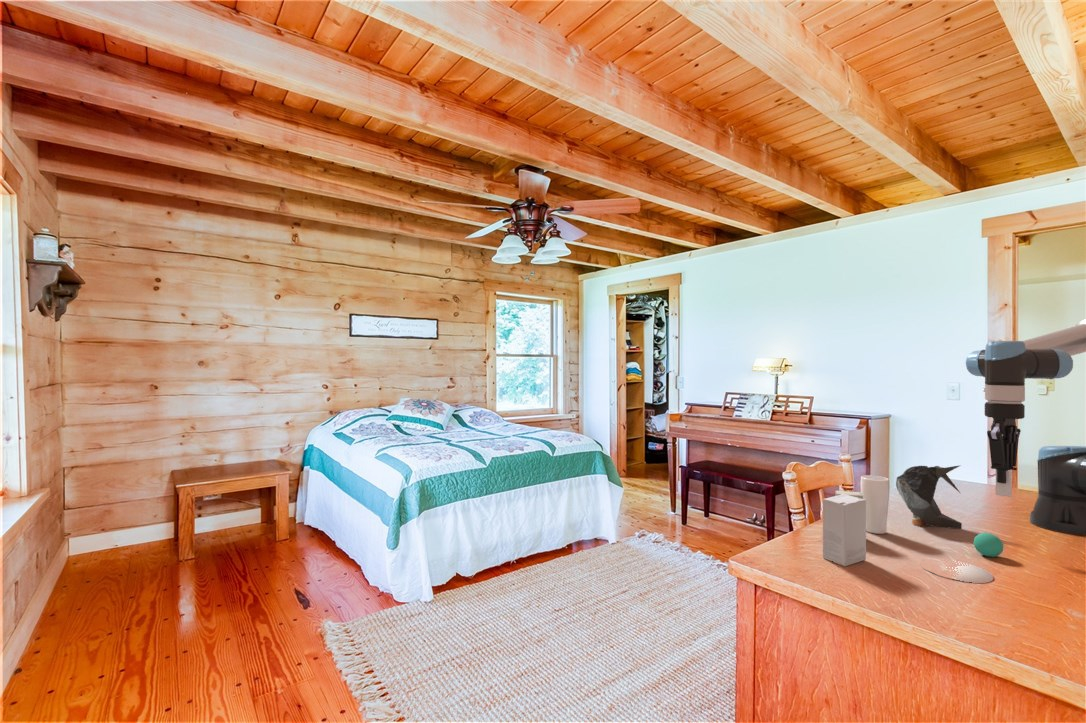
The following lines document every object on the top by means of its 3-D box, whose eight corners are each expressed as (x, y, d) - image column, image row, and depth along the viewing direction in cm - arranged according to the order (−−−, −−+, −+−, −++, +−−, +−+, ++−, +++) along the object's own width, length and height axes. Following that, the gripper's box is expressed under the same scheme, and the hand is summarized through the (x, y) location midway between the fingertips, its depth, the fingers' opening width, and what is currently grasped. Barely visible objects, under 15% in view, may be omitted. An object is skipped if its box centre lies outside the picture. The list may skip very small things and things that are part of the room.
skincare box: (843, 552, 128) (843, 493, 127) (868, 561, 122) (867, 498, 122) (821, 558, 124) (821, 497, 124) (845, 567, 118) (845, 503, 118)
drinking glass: (894, 536, 139) (894, 481, 139) (866, 534, 140) (866, 480, 140) (883, 528, 145) (882, 475, 145) (856, 526, 147) (856, 474, 147)
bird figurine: (891, 514, 158) (891, 456, 158) (953, 520, 152) (952, 459, 152) (900, 528, 146) (900, 464, 146) (968, 535, 139) (968, 469, 139)
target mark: (961, 559, 123) (961, 558, 123) (1010, 583, 110) (1010, 582, 110) (906, 559, 123) (906, 558, 123) (948, 583, 110) (948, 582, 110)
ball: (990, 551, 127) (989, 529, 127) (1009, 560, 122) (1009, 537, 122) (967, 551, 127) (967, 529, 127) (986, 560, 122) (986, 537, 122)
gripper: (996, 400, 136) (996, 489, 136) (974, 401, 129) (973, 495, 129) (1034, 402, 129) (1033, 495, 129) (1012, 404, 123) (1011, 502, 123)
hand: (1003, 495), depth 129 cm, fingers closed
